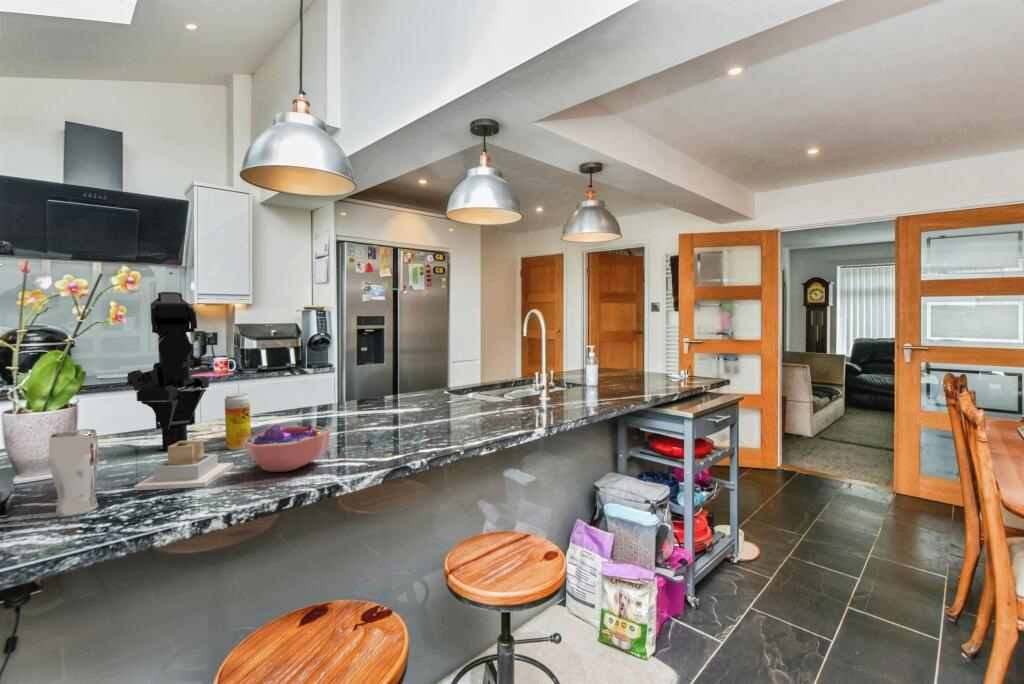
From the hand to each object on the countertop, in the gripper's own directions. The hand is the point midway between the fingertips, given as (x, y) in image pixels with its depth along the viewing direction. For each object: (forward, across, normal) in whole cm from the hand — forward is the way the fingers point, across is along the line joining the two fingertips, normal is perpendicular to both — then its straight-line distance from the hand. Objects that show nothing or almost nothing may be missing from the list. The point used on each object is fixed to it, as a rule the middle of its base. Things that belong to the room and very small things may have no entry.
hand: (177, 424), depth 109 cm
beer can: (+12, -24, +4) cm, 27 cm away
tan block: (+11, +1, +2) cm, 11 cm away
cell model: (+12, -3, +23) cm, 27 cm away
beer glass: (+12, +18, -9) cm, 24 cm away
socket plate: (+12, +1, +2) cm, 12 cm away
